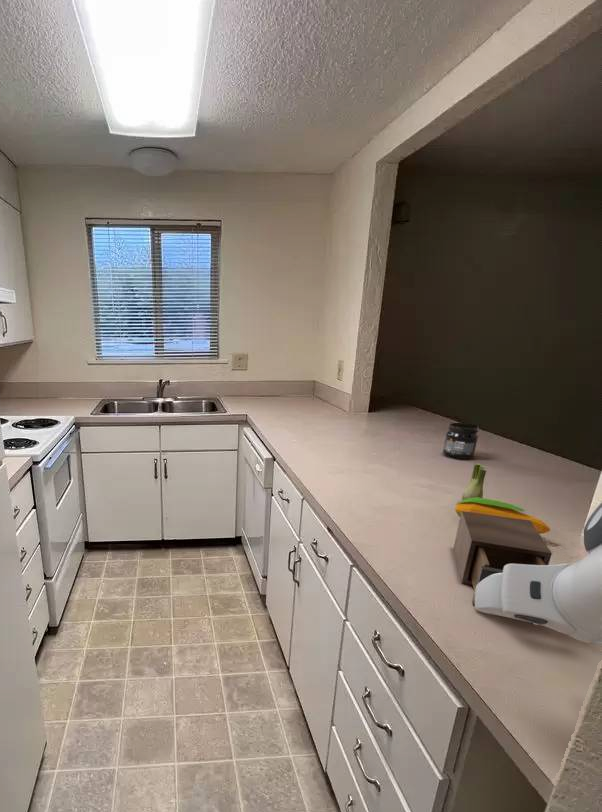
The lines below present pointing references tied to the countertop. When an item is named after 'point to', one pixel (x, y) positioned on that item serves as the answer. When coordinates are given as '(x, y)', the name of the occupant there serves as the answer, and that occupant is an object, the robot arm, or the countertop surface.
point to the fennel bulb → (475, 483)
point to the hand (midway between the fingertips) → (544, 620)
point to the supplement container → (460, 441)
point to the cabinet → (495, 539)
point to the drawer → (496, 563)
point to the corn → (498, 511)
